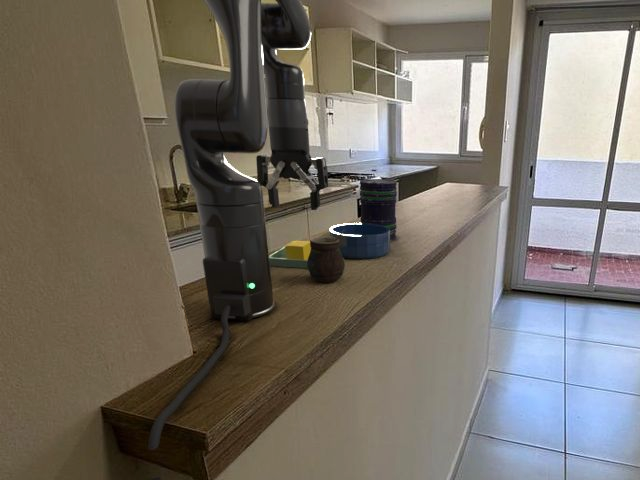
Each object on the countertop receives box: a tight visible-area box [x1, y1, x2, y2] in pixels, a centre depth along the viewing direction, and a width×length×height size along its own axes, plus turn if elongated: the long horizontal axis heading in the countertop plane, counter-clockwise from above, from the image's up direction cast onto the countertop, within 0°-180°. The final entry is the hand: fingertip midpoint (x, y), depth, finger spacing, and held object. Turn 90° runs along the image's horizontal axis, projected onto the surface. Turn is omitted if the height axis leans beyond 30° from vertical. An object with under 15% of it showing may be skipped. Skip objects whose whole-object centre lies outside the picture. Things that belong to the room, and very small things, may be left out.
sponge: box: [284, 239, 311, 260], centre depth 98 cm, size 5×4×4 cm
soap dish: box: [269, 246, 308, 269], centre depth 99 cm, size 10×11×2 cm
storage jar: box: [359, 169, 398, 242], centre depth 119 cm, size 10×10×18 cm
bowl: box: [329, 222, 391, 260], centre depth 107 cm, size 14×14×6 cm
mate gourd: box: [307, 229, 346, 283], centre depth 86 cm, size 7×8×10 cm
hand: (295, 208), depth 94 cm, fingers open, 8 cm apart
